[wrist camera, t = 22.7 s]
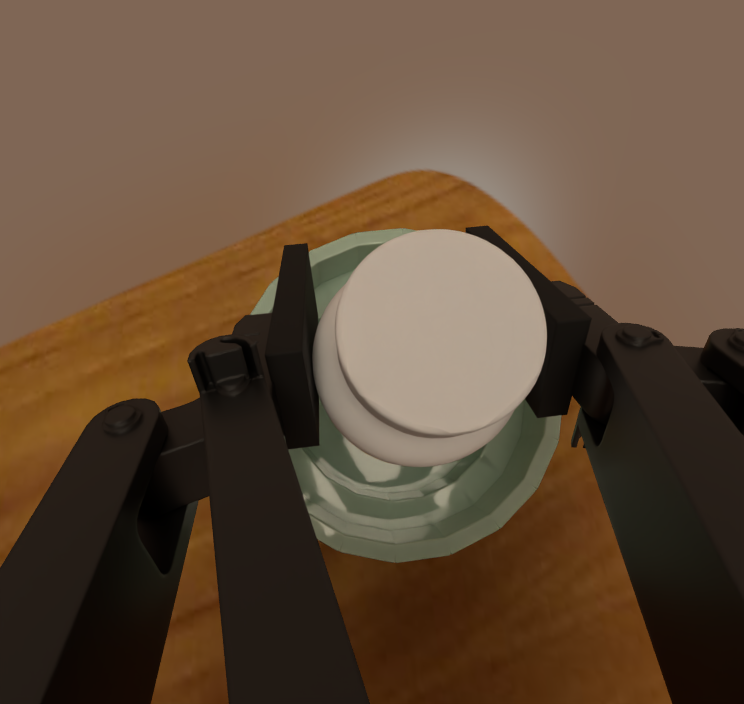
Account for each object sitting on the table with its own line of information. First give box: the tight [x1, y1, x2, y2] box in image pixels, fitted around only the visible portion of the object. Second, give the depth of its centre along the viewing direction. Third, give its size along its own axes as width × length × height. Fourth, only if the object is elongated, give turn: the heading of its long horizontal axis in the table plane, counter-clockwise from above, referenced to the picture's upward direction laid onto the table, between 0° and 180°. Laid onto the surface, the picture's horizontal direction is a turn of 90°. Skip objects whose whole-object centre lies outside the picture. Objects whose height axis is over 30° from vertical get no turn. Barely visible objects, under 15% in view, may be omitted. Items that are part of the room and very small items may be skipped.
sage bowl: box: [250, 228, 561, 563], centre depth 18 cm, size 12×12×5 cm
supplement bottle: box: [312, 229, 547, 467], centre depth 13 cm, size 5×5×10 cm
